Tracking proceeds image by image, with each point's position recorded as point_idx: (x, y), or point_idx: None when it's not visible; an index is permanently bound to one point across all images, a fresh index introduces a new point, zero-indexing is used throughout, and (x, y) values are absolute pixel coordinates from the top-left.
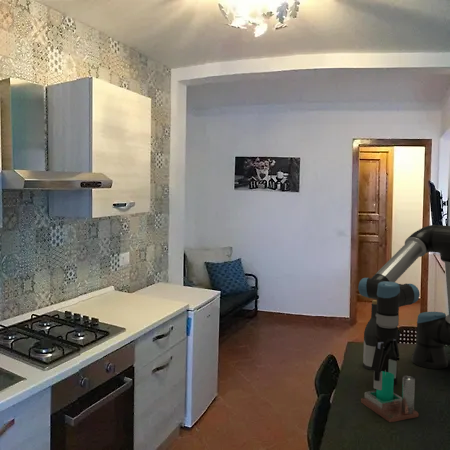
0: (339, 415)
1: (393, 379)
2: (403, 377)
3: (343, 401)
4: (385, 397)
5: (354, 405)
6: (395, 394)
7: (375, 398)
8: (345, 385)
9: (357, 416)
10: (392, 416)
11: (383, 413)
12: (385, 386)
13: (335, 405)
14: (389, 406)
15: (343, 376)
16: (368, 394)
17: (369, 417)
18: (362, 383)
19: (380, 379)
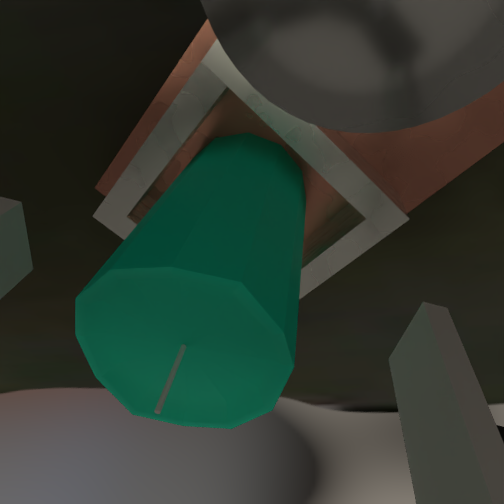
0: (479, 372)
1: (199, 241)
2: (403, 106)
3: (298, 368)
4: (300, 211)
5: (322, 325)
6: (162, 139)
7: (327, 270)
8: None
9: (467, 302)
10: (493, 104)
11: (452, 177)
12: (295, 272)
13: (362, 391)
14: (355, 153)
15: (27, 383)
16: None
17: (463, 244)
18: (30, 314)
19: (487, 428)
